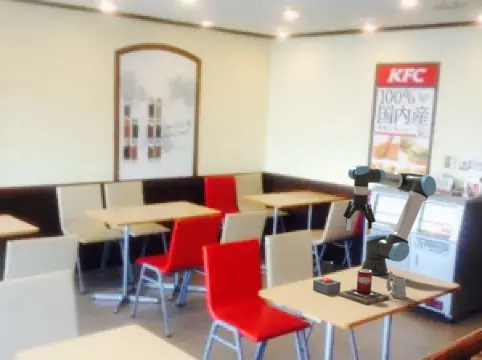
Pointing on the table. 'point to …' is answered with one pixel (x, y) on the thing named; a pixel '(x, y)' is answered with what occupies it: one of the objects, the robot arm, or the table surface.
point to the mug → (397, 286)
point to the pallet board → (363, 299)
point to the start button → (327, 280)
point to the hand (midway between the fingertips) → (358, 232)
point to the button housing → (326, 286)
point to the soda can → (364, 282)
